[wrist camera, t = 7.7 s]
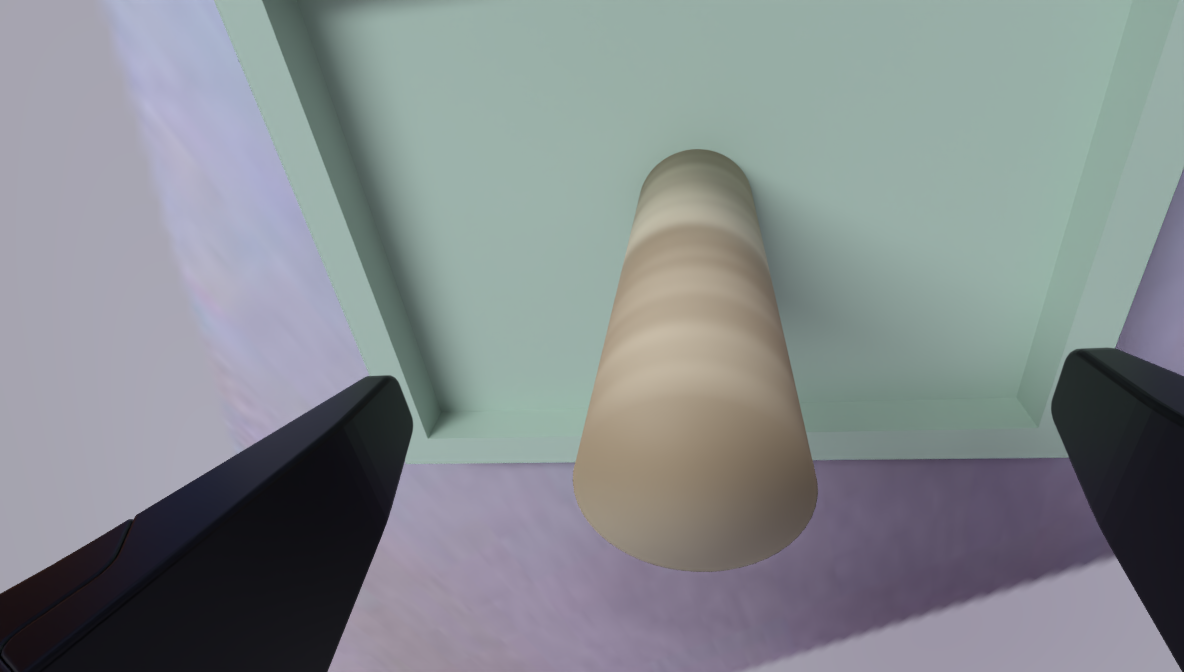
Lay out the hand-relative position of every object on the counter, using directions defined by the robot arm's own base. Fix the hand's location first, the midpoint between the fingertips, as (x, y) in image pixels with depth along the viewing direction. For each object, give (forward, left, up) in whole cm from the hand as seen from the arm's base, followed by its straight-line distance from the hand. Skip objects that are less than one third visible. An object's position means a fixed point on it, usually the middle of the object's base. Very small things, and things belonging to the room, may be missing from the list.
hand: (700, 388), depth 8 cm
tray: (0, 0, -8) cm, 8 cm away
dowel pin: (0, 0, -7) cm, 7 cm away
